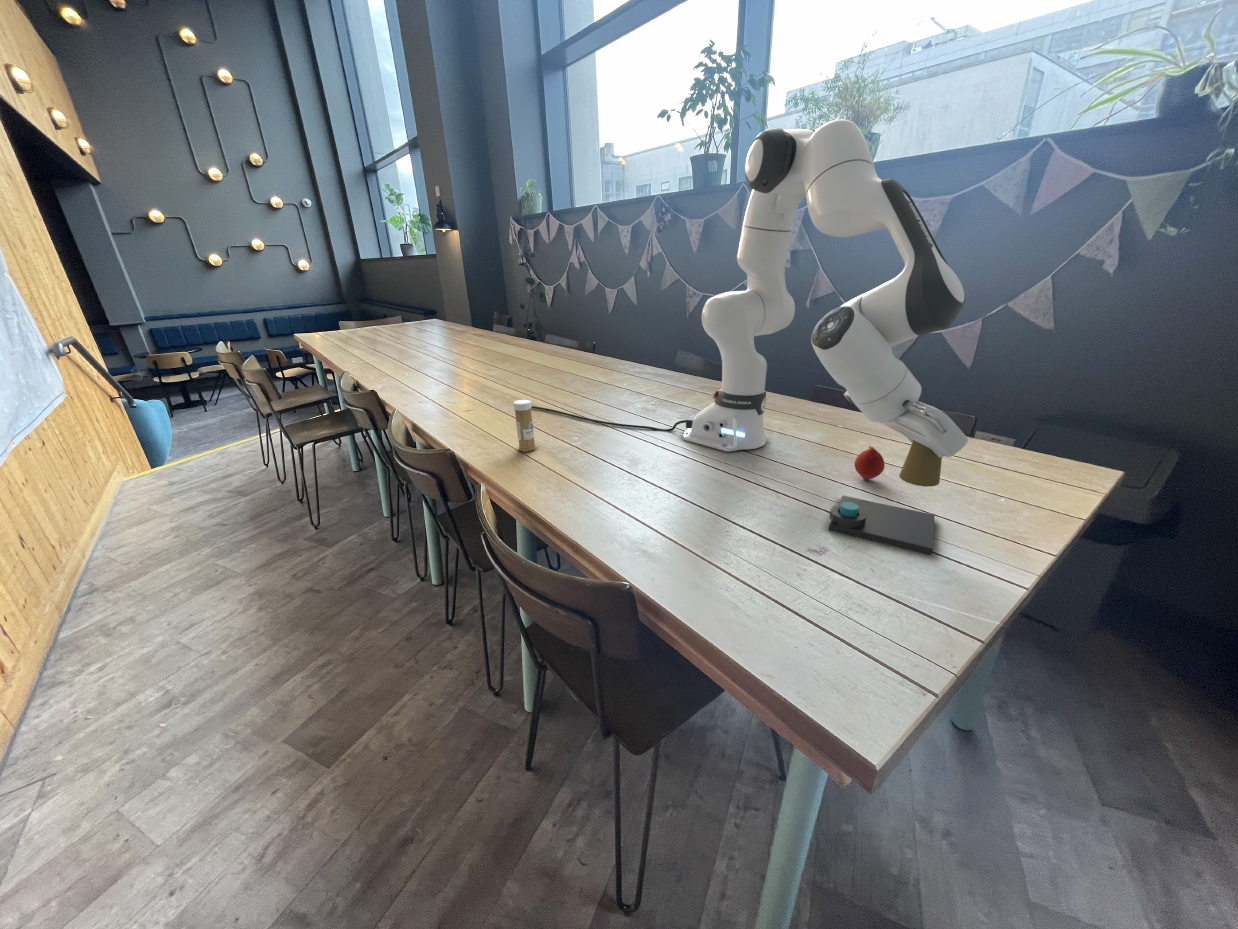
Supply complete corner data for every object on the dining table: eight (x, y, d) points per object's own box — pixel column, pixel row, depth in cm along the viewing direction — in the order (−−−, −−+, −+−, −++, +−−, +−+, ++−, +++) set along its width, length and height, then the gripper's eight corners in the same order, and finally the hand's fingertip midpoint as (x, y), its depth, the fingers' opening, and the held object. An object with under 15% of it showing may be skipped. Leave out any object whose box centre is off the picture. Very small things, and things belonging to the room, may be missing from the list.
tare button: (837, 515, 86) (839, 507, 85) (840, 508, 88) (842, 500, 87) (855, 519, 84) (857, 511, 84) (858, 512, 87) (860, 504, 86)
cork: (945, 487, 78) (963, 425, 74) (906, 485, 80) (920, 423, 75) (931, 472, 84) (946, 413, 79) (894, 470, 85) (907, 412, 81)
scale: (825, 529, 86) (828, 515, 85) (838, 500, 96) (841, 487, 95) (930, 555, 78) (935, 540, 77) (932, 521, 88) (936, 507, 87)
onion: (878, 475, 106) (885, 442, 103) (882, 486, 102) (890, 452, 98) (850, 472, 108) (856, 440, 105) (853, 483, 103) (859, 449, 100)
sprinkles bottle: (533, 452, 126) (528, 403, 121) (517, 452, 126) (511, 404, 121) (537, 445, 130) (532, 398, 125) (521, 446, 131) (515, 399, 125)
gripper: (952, 396, 65) (997, 457, 69) (866, 366, 83) (906, 416, 88) (914, 429, 66) (961, 486, 71) (838, 392, 85) (879, 439, 89)
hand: (930, 447), depth 80 cm, fingers closed on cork, 4 cm apart
